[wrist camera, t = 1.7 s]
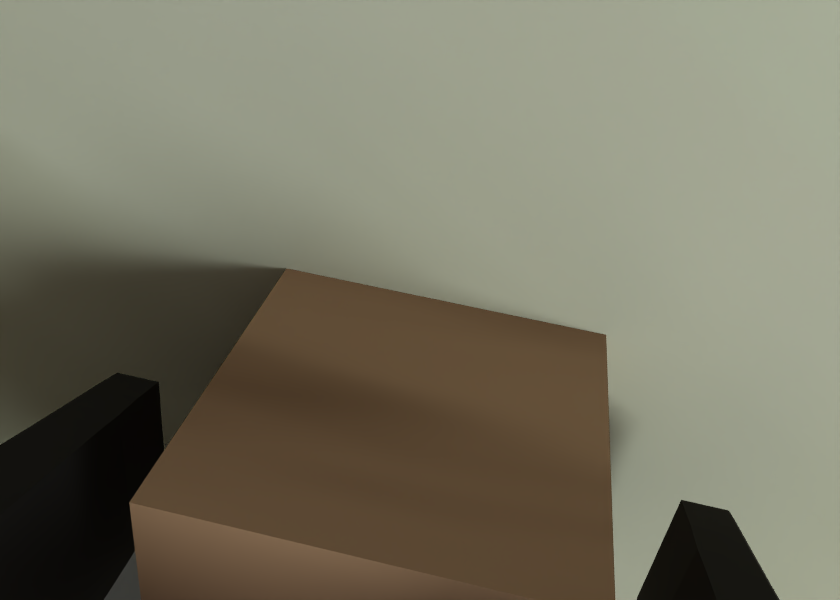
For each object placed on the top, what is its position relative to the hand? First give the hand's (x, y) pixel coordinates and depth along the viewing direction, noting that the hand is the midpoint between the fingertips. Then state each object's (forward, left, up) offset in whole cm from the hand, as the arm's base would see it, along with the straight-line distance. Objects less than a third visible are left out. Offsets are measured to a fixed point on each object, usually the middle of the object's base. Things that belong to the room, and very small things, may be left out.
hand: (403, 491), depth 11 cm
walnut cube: (0, 0, -2) cm, 2 cm away
